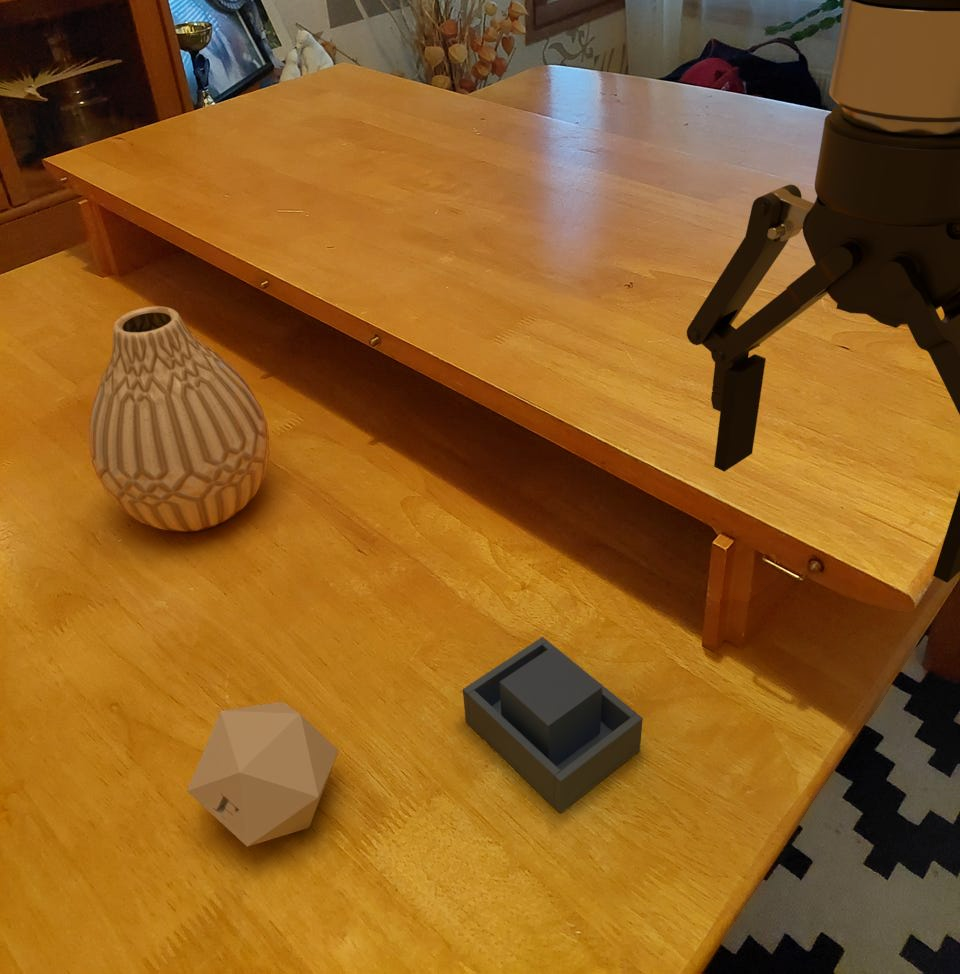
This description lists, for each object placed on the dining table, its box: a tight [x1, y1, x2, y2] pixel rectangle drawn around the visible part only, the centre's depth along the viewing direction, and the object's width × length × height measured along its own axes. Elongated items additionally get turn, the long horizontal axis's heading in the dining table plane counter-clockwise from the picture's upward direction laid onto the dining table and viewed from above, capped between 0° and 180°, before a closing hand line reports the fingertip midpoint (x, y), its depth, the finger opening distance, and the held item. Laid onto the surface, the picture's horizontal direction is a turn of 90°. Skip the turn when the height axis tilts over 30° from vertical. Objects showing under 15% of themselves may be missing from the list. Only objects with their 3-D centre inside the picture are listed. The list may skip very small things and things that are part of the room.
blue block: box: [500, 647, 602, 766], centre depth 65 cm, size 5×5×5 cm
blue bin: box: [462, 636, 644, 814], centre depth 66 cm, size 10×8×4 cm
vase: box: [88, 305, 270, 533], centre depth 85 cm, size 16×16×20 cm
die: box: [186, 701, 340, 847], centre depth 61 cm, size 8×9×10 cm
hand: (834, 509), depth 51 cm, fingers open, 13 cm apart
